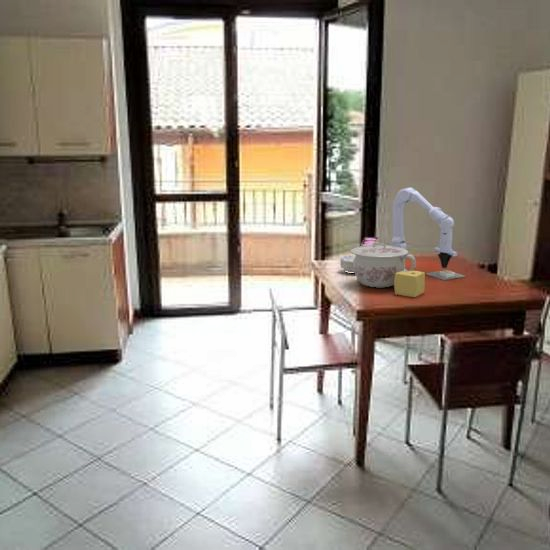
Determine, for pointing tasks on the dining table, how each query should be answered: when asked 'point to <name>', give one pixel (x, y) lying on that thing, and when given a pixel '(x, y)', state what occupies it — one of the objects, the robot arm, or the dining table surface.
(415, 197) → the robot arm
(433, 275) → the mat
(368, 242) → the gum box
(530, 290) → the dining table surface
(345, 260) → the paper bowls
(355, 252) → the chamber pot
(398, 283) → the cheese
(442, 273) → the block
